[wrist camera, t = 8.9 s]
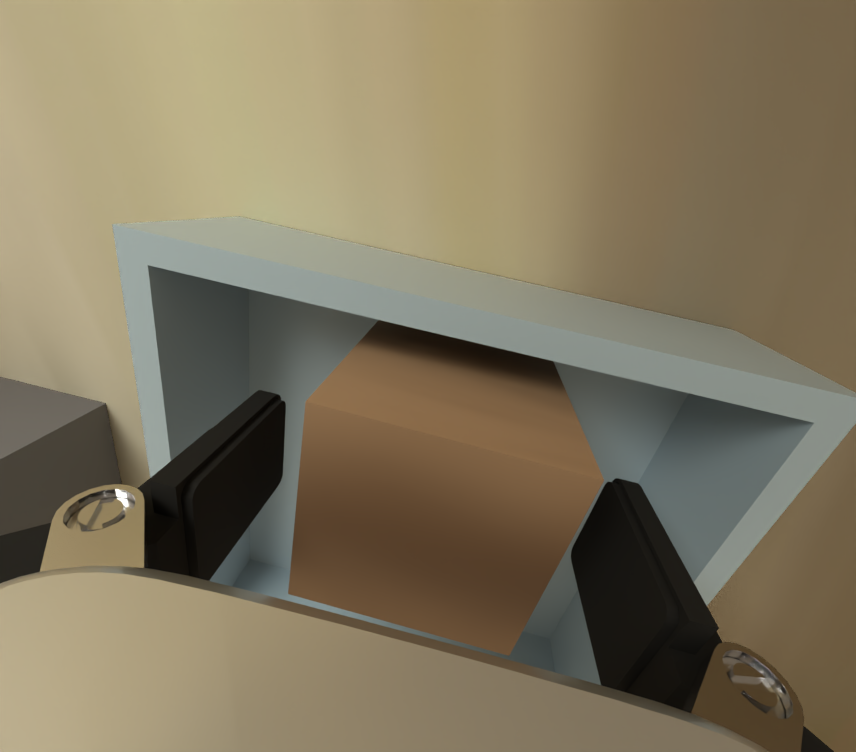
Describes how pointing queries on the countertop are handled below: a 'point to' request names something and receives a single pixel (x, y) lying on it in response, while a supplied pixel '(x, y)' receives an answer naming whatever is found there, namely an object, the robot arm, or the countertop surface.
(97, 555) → the robot arm
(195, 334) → the bin
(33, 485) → the charcoal block
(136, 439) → the countertop surface
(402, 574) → the walnut block
